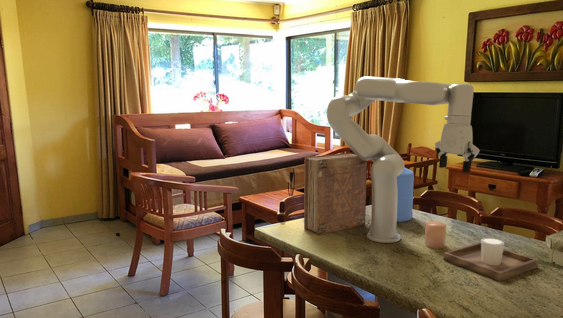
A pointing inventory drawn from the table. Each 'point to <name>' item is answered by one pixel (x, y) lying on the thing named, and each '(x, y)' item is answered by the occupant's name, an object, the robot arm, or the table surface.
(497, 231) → the table surface
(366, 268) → the table surface
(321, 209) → the book
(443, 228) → the peach rounded capsule
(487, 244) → the white tapered cup
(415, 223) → the table surface
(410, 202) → the water jug
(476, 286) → the table surface
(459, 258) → the walnut tray
